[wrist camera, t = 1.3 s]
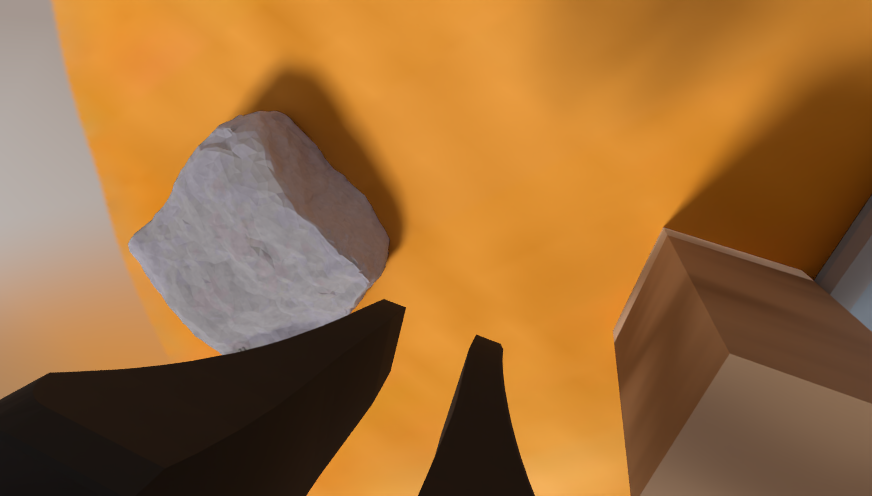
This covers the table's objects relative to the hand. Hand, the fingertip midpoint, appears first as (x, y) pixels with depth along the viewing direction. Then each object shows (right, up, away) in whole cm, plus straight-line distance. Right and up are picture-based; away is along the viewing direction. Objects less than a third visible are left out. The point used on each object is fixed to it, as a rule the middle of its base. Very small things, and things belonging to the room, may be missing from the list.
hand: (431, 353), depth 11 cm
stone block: (-8, +3, +13) cm, 15 cm away
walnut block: (+11, 0, +7) cm, 13 cm away
